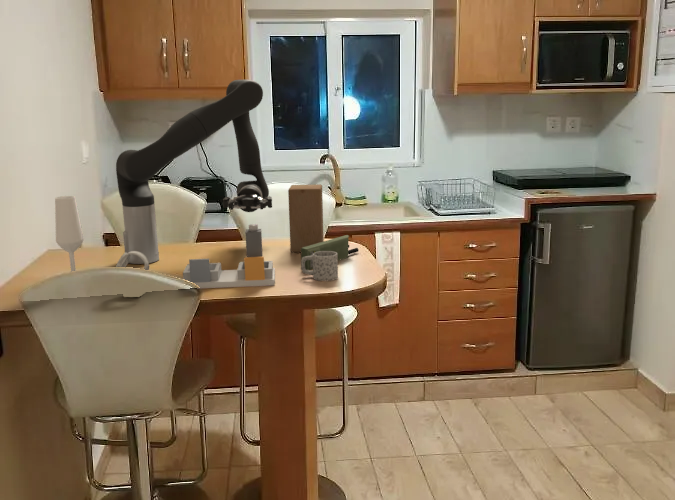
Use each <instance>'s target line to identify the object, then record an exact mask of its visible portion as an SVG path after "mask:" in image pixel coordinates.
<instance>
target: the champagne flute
mask: <svg viewBox="0 0 675 500" xmlns="http://www.w3.org/2000/svg"><path fill="white" fill-rule="evenodd" d="M54 205H55V208H54V209H55V212H54V214H55V243H56V244H57V245H58V246H59V248H61V249H62V250H63V251H65V252H67V253H68V257H69V264H70V273H71V272H72V271H76V272H77V270H76V259H75V252H76V251H77V250H78V249H79V248H80V247H81V246H82V244H83V243H84V239H85V238H84V233H83V228H82V223H81V219H80V214H79V209H78V204H77V200H76V196H75V195H64V196H56V197H55V198H54Z"/></svg>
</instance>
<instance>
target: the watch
mask: <svg viewBox="0 0 675 500" xmlns="http://www.w3.org/2000/svg"><path fill="white" fill-rule="evenodd" d="M131 254H134V255H137V256H139V257H140V258H141V259H142V260H143V261H144V263H145V264H143V265H144V266H143V269H145V270H149V271H150V263H149V261H148V259H147V258H146V256H145V255H144V254H143V253H141V252H138V251H130V252H129V253H127V252H125V251H124V253H123V254H122V255H121V256H120V258H119V259H118V261H117V263H116V265H115V268H116V267H125V268H126V267H127V266H128V264H130V263H129V260H130V257H131V256H130V255H131Z"/></svg>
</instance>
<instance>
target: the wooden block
mask: <svg viewBox="0 0 675 500" xmlns="http://www.w3.org/2000/svg"><path fill="white" fill-rule="evenodd" d="M287 193H288V217H289V218H288V219H289V244H290V245H289V247H290V249H289V250H290V252H291V253H301V248H303V247H306V246H310V245H313V244H317V243H320V242H324V241H325V240H324V212H323V211H324V209H323V185H322V184H320V183H319V184H292V185H290V187H289V188H288V190H287Z"/></svg>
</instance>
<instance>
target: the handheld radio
mask: <svg viewBox="0 0 675 500" xmlns="http://www.w3.org/2000/svg"><path fill="white" fill-rule="evenodd" d="M349 237H350V235H348V234H346V235H342V236H341V235H340V236H338V237H334V238H331V239H328V240H324V242H320V243H317V244H313V245H310V246H306V247H303V248H301V252H300V259H301V260H300V262H301V261H302V258H303V257H305V256H312V255H313V253H315V252H319V251H333V252H336V253H337V257H338V261H340V259H341V260H344V259H348V258H349V255H352V254H355V253H358V252H359V248H358V247H355V248H351V249H349V248H350V244H349V241H350V239H349ZM300 267H301V266H300ZM305 269H306V270H308V271H311V270H313V260H306V261H305ZM300 270H301V271H302V267H301V268H300Z"/></svg>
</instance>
